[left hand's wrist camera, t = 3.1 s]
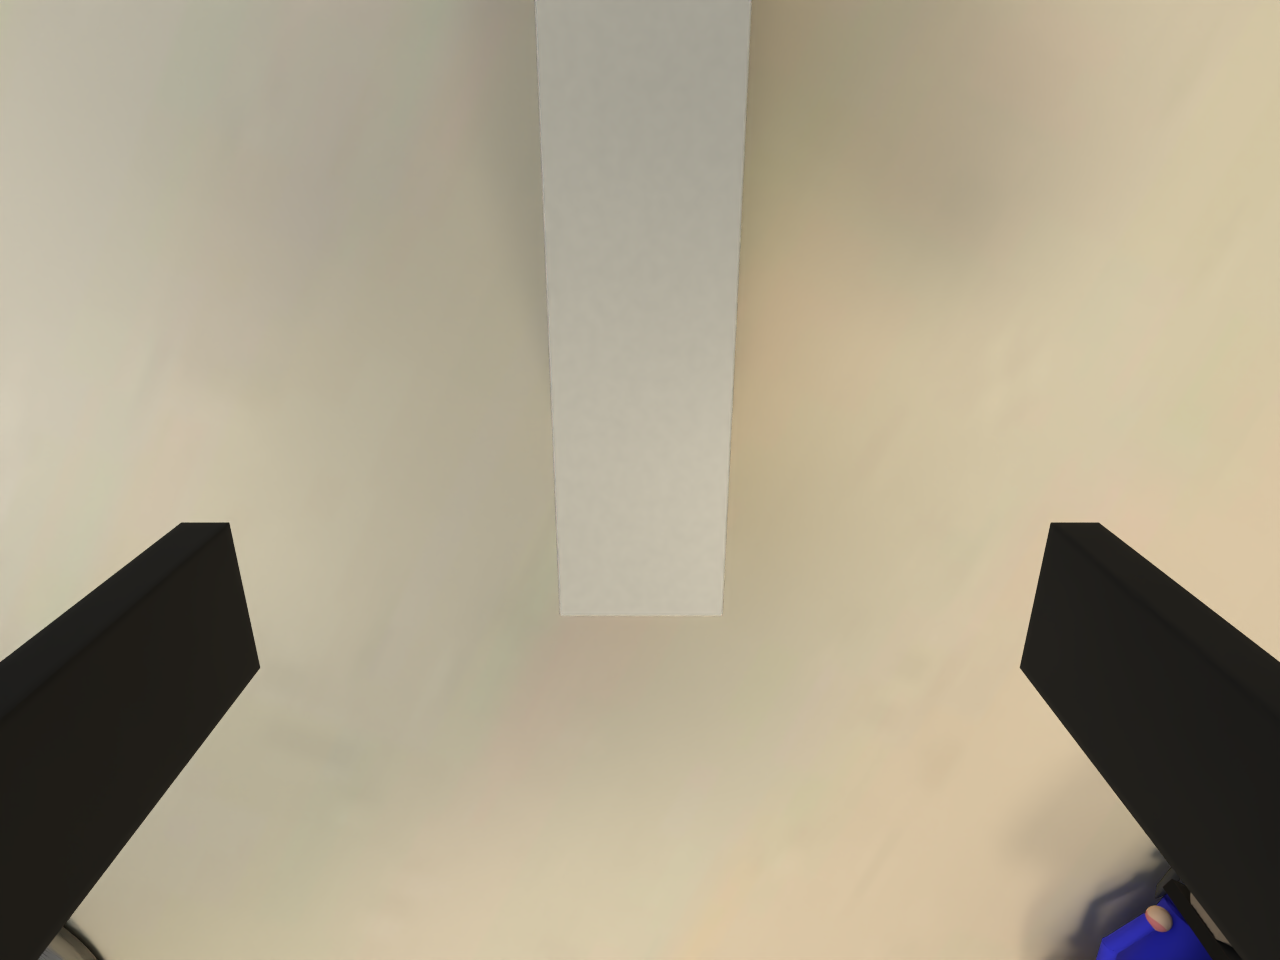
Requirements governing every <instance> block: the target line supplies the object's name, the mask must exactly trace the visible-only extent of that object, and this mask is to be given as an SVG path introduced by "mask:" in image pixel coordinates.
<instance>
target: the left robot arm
mask: <svg viewBox="0 0 1280 960" xmlns="http://www.w3.org/2000/svg"><path fill="white" fill-rule="evenodd" d="M259 669H260V665H259V660H258V655H257V651H256V646H255V641H254V636H253V632H252V627H251V622H250V618H249V613H248V608H247V604H246V599H245V594H244V590H243V585H242V580H241V576H240V571H239V566H238V561H237V557H236V552H235V547H234V543H233V538H232V533H231V529H230V524H229V523H180V524H179V525H178V526H176V527H175V528H174V529H172V530H171V531H170V532H169V533H167V534H166V535H165V536H163V537H162V538H161V539H159V540H158V541H157V542H156V543H154V544H153V545H152V546H150V547H149V548H148V549H146V550H145V551H144V552H143V553H141V554H140V555H139V556H137V557H136V558H135V559H133V560H132V561H131V562H130V563H128V564H127V565H126V566H124V567H123V568H122V569H121V570H119V571H118V572H117V573H115V574H114V575H113V576H111V577H110V578H109V579H108V580H106V581H105V582H104V583H102V584H101V585H100V586H98V587H97V588H96V589H95V590H93V591H92V592H91V593H89V594H88V595H87V596H85V597H84V598H83V599H82V600H80V601H79V602H78V603H76V604H75V605H74V606H72V607H71V608H70V609H69V610H67V611H66V612H65V613H63V614H62V615H61V616H60V617H58V618H57V619H56V620H54V621H53V622H52V623H50V624H49V625H48V626H47V627H45V628H44V629H43V630H41V631H40V632H39V633H37V634H36V635H35V636H34V637H32V638H31V639H30V640H28V641H27V642H26V643H24V644H23V645H22V646H21V647H19V648H18V649H17V650H15V651H14V652H13V653H12V654H10V655H9V656H8V657H6V658H5V659H4V660H2V661H1V662H0V960H97V959H96V957H95V956H94V955H93V954H92V953H91V952H90V951H89V949H88V948H87V947H86V946H85V945H84V944H83V943H82V942H81V941H79V940H78V939H77V938H76V937H75V936H74V935H73V934H71V933H70V932H69V931H68V930H66V929H65V928H64V927H63V926H64V925H65V923H66V922H67V921H68V919H69V918H70V917H71V915H72V914H73V913H74V911H75V910H76V909H77V908H78V906H79V905H80V904H81V902H82V901H83V900H84V898H85V897H86V896H87V894H88V893H89V892H90V890H91V889H92V888H93V887H94V885H95V884H96V883H97V881H98V880H99V879H100V877H101V876H102V875H103V873H104V872H105V871H106V869H107V868H108V867H109V866H110V864H111V863H112V862H113V860H114V859H115V858H116V856H117V855H118V854H119V852H120V851H121V850H122V848H123V847H124V846H125V845H126V843H127V842H128V841H129V839H130V838H131V837H132V835H133V834H134V833H135V831H136V830H137V829H138V827H139V826H140V825H141V824H142V822H143V821H144V820H145V818H146V817H147V816H148V814H149V813H150V812H151V810H152V809H153V808H154V806H155V805H156V804H157V803H158V801H159V800H160V799H161V797H162V796H163V795H164V793H165V792H166V791H167V789H168V788H169V787H170V785H171V784H172V783H173V782H174V780H175V779H176V778H177V776H178V775H179V774H180V772H181V771H182V770H183V768H184V767H185V766H186V764H187V763H188V762H189V761H190V759H191V758H192V757H193V755H194V754H195V753H196V751H197V750H198V749H199V747H200V746H201V745H202V743H203V742H204V741H205V739H206V738H207V737H208V736H209V734H210V733H211V732H212V730H213V729H214V728H215V726H216V725H217V724H218V722H219V721H220V720H221V718H222V717H223V716H224V715H225V713H226V712H227V711H228V709H229V708H230V707H231V705H232V704H233V703H234V701H235V700H236V699H237V697H238V696H239V695H240V694H241V692H242V691H243V690H244V688H245V687H246V686H247V684H248V683H249V682H250V680H251V679H252V678H253V676H254V675H255V674H256V673H257V671H258V670H259ZM1020 669H1021V670H1022V671H1023V673H1024V674H1025V675H1026V676H1027V678H1028V679H1029V680H1030V682H1031V683H1032V684H1033V686H1034V687H1035V688H1036V690H1037V691H1038V692H1039V694H1040V695H1041V696H1042V697H1043V699H1044V700H1045V701H1046V703H1047V704H1048V705H1049V707H1050V708H1051V709H1052V711H1053V712H1054V713H1055V715H1056V716H1057V717H1058V718H1059V720H1060V721H1061V722H1062V724H1063V725H1064V726H1065V728H1066V729H1067V730H1068V732H1069V733H1070V734H1071V736H1072V737H1073V738H1074V740H1075V741H1076V742H1077V743H1078V745H1079V746H1080V747H1081V749H1082V750H1083V751H1084V753H1085V754H1086V755H1087V757H1088V758H1089V759H1090V761H1091V762H1092V763H1093V764H1094V766H1095V767H1096V768H1097V770H1098V771H1099V772H1100V774H1101V775H1102V776H1103V778H1104V779H1105V780H1106V782H1107V783H1108V784H1109V785H1110V787H1111V788H1112V789H1113V791H1114V792H1115V793H1116V795H1117V796H1118V797H1119V799H1120V800H1121V801H1122V803H1123V804H1124V805H1125V806H1126V808H1127V809H1128V810H1129V812H1130V813H1131V814H1132V816H1133V817H1134V818H1135V820H1136V821H1137V822H1138V824H1139V825H1140V826H1141V827H1142V829H1143V830H1144V831H1145V833H1146V834H1147V835H1148V837H1149V838H1150V839H1151V841H1152V842H1153V843H1154V845H1155V846H1156V847H1157V848H1158V850H1159V851H1160V852H1161V854H1162V855H1163V856H1164V858H1165V859H1166V860H1167V862H1168V863H1169V864H1170V866H1171V867H1172V868H1173V869H1174V871H1175V872H1176V873H1177V875H1178V876H1179V877H1180V879H1181V880H1182V881H1183V883H1184V884H1185V885H1186V887H1187V888H1188V889H1189V890H1190V892H1191V893H1192V894H1193V896H1194V897H1195V898H1196V900H1197V901H1198V902H1199V904H1200V905H1201V906H1202V908H1203V909H1204V910H1205V911H1206V913H1207V914H1208V915H1209V917H1210V918H1211V919H1212V921H1213V922H1214V923H1215V925H1216V926H1217V927H1218V929H1219V930H1220V931H1221V932H1222V934H1223V935H1224V936H1225V938H1226V939H1227V940H1228V942H1229V943H1230V944H1231V946H1232V947H1233V948H1234V950H1235V951H1236V952H1237V953H1238V955H1239V956H1240V957H1241V959H1242V960H1280V662H1279V661H1278V660H1276V659H1275V658H1274V657H1272V656H1271V655H1270V654H1268V653H1267V652H1266V651H1265V650H1263V649H1262V648H1261V647H1259V646H1258V645H1257V644H1256V643H1254V642H1253V641H1252V640H1250V639H1249V638H1248V637H1246V636H1245V635H1244V634H1243V633H1241V632H1240V631H1239V630H1237V629H1236V628H1235V627H1233V626H1232V625H1231V624H1230V623H1228V622H1227V621H1226V620H1224V619H1223V618H1222V617H1220V616H1219V615H1218V614H1217V613H1215V612H1214V611H1213V610H1211V609H1210V608H1209V607H1208V606H1206V605H1205V604H1204V603H1202V602H1201V601H1200V600H1198V599H1197V598H1196V597H1195V596H1193V595H1192V594H1191V593H1189V592H1188V591H1187V590H1185V589H1184V588H1183V587H1182V586H1180V585H1179V584H1178V583H1176V582H1175V581H1174V580H1172V579H1171V578H1170V577H1169V576H1167V575H1166V574H1165V573H1163V572H1162V571H1161V570H1159V569H1158V568H1157V567H1156V566H1154V565H1153V564H1152V563H1150V562H1149V561H1148V560H1147V559H1145V558H1144V557H1143V556H1141V555H1140V554H1139V553H1137V552H1136V551H1135V550H1134V549H1132V548H1131V547H1130V546H1128V545H1127V544H1126V543H1124V542H1123V541H1122V540H1121V539H1119V538H1118V537H1117V536H1115V535H1114V534H1113V533H1111V532H1110V531H1109V530H1108V529H1106V528H1105V527H1104V526H1102V525H1101V524H1100V523H1051V524H1050V529H1049V533H1048V538H1047V543H1046V547H1045V552H1044V557H1043V561H1042V566H1041V571H1040V576H1039V580H1038V585H1037V590H1036V594H1035V599H1034V604H1033V608H1032V613H1031V618H1030V622H1029V627H1028V632H1027V636H1026V641H1025V646H1024V651H1023V655H1022V660H1021V665H1020Z"/></svg>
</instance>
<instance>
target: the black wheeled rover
mask: <svg viewBox="0 0 1280 960" xmlns="http://www.w3.org/2000/svg"><path fill="white" fill-rule="evenodd" d="M1179 880H1180V877H1179V876H1178V875H1177V873H1176V872H1175V871H1174V869H1173V868H1172V867H1171V868H1170V870H1169V871H1168V872H1167V873H1166V875H1165V876H1164V877H1163V878H1162V880H1161V881H1160V882H1159V883H1158V885H1157V886H1156V896H1155V898H1158V897H1161V896H1164V897H1163V898H1162V899H1161V900H1160V901H1159V903H1158V904H1157V905H1156V906H1150V907H1149V908H1147V910H1146V912H1145V914H1144V913H1143V914H1141V915H1140V916H1138V917H1137V918H1135V919H1133V920H1132V921H1130V922H1129V923H1127V924H1125V925H1124V926H1122V927H1121V928H1119V929H1118V930H1116V931H1114V932H1113V933H1111V934H1110V935H1108V936H1106V937H1104V938H1102V941H1101V945H1100V948H1099V951H1098V954H1097V958H1096V960H1242V959H1241V957H1240V956H1239V955H1238V953H1237V952H1236V951H1235V950H1234V948H1233V947H1232V946H1231V944H1230V943H1229V942H1228V940H1227V939H1226V938H1225V936H1224V935H1223V934H1222V932H1221V931H1220V930H1219V929H1218V927H1217V926H1216V925H1215V923H1214V922H1213V921H1212V919H1211V918H1210V917H1209V915H1208V914H1207V913H1206V911H1205V910H1204V909H1203V908H1202V906H1201V905H1200V904H1199V902H1198V901H1197V900H1196V898H1195V897H1194V896H1193V894H1192V893H1191V892H1190V890H1189V889H1188V888H1187V887H1186V885H1184V884H1182V883H1180V882H1178V881H1179Z"/></svg>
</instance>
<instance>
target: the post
mask: <svg viewBox="0 0 1280 960" xmlns="http://www.w3.org/2000/svg"><path fill="white" fill-rule="evenodd" d="M534 2H535V26H536V50H537V75H538V99H539V123H540V148H541V172H542V196H543V221H544V245H545V269H546V294H547V318H548V342H549V367H550V391H551V416H552V440H553V464H554V489H555V513H556V537H557V562H558V586H559V610H560V615H561V616H722V614H723V600H724V579H725V558H726V537H727V516H728V495H729V474H730V452H731V431H732V410H733V389H734V368H735V347H736V326H737V305H738V284H739V263H740V242H741V221H742V200H743V179H744V158H745V137H746V116H747V95H748V73H749V52H750V31H751V10H752V0H534Z"/></svg>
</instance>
